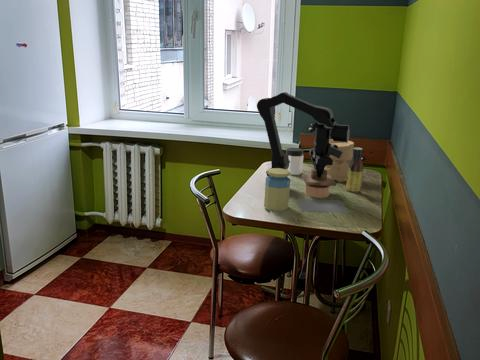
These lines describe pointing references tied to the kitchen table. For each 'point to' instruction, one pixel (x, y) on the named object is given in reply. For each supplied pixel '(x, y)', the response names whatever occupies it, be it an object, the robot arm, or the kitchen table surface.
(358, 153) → the sauce bottle
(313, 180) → the walnut cover
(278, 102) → the robot arm
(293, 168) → the jar
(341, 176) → the container
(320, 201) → the charcoal mat
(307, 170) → the kitchen table surface
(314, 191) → the terracotta bowl
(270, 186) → the jar
